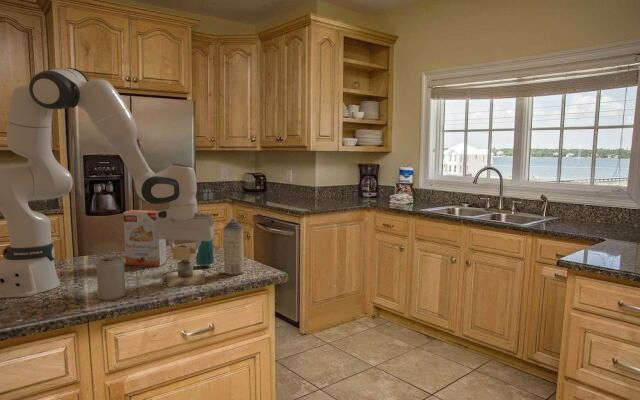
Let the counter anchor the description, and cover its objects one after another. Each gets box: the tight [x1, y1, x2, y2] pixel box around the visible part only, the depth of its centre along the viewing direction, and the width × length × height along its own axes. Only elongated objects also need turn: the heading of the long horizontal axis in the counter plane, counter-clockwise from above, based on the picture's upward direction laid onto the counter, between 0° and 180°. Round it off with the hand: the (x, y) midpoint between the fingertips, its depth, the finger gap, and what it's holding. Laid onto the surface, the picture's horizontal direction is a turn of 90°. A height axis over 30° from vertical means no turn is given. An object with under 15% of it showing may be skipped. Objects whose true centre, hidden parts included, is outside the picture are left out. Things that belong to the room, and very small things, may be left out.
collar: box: [172, 243, 197, 261], centre depth 149 cm, size 6×6×4 cm
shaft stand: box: [166, 245, 207, 288], centre depth 149 cm, size 12×12×12 cm
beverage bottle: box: [195, 238, 215, 266], centre depth 166 cm, size 6×7×20 cm
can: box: [96, 256, 126, 302], centre depth 131 cm, size 8×8×12 cm
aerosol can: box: [223, 217, 245, 277], centre depth 158 cm, size 7×7×20 cm
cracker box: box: [123, 209, 167, 267], centre depth 168 cm, size 14×6×21 cm, turn 83°
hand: (184, 252), depth 149 cm, fingers closed on collar, 6 cm apart
